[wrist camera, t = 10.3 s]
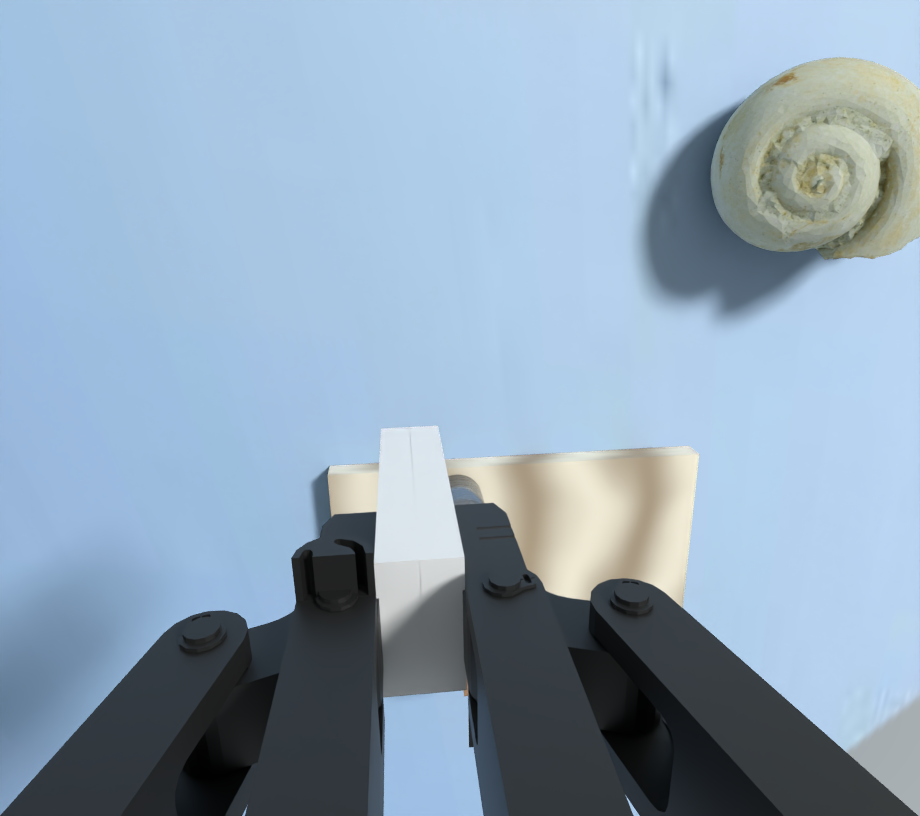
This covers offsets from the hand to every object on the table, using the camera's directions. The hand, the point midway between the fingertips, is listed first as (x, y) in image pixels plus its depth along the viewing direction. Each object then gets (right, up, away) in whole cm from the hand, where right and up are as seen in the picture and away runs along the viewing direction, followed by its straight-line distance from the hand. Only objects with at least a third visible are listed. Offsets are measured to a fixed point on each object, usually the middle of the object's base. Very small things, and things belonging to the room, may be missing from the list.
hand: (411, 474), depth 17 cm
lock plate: (+5, -8, +27) cm, 28 cm away
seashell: (+21, +16, +21) cm, 34 cm away
